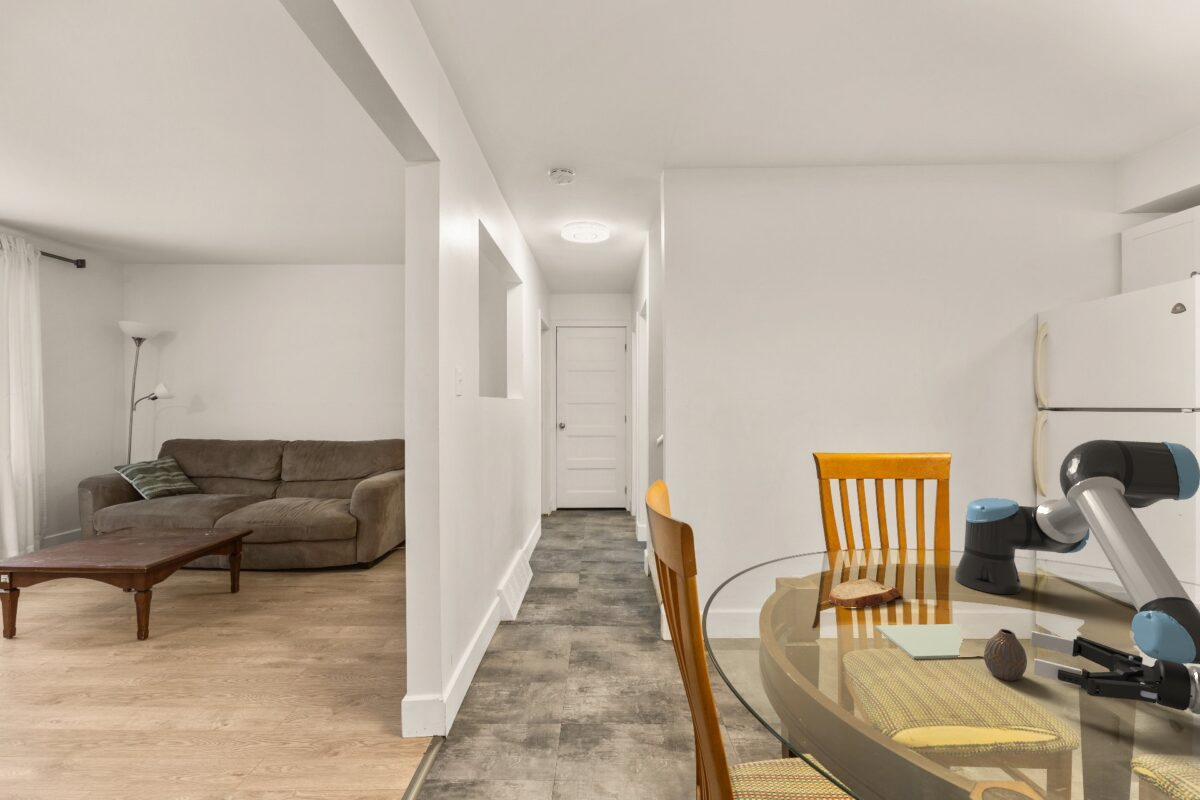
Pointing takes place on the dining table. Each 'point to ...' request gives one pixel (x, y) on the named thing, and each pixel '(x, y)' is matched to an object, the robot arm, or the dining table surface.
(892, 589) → the slice of bread
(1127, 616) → the dining table surface
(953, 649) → the mat
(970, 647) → the dining table surface
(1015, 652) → the vase
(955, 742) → the dining table surface
